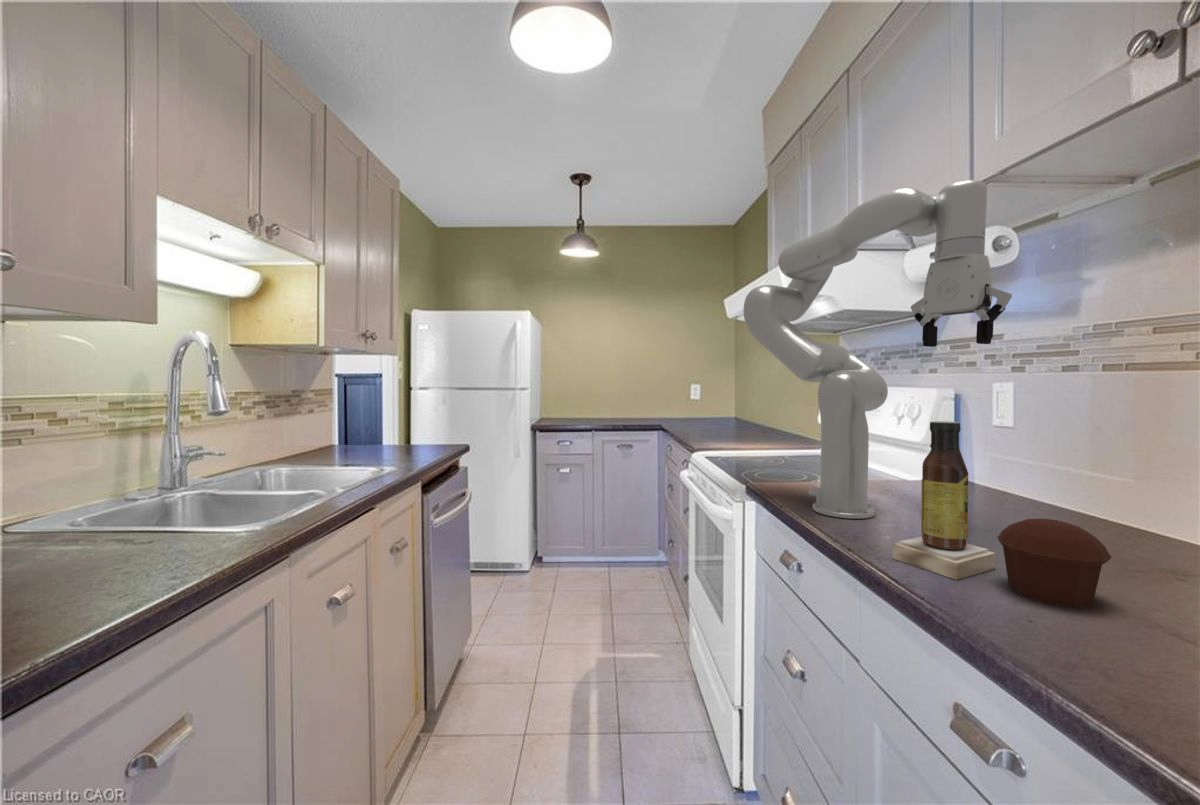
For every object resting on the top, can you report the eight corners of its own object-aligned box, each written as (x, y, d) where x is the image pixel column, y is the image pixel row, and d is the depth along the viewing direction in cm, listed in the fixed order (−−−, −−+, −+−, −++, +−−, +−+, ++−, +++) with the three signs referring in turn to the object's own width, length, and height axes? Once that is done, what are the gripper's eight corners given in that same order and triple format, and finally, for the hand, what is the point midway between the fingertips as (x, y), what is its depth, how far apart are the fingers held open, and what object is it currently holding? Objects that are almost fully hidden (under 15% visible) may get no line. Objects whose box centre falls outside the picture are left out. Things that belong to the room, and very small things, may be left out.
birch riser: (892, 558, 84) (893, 540, 84) (929, 549, 89) (930, 532, 88) (956, 579, 75) (957, 559, 75) (995, 568, 80) (995, 550, 79)
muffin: (1110, 594, 70) (1113, 522, 70) (1108, 621, 62) (1112, 540, 62) (1001, 571, 79) (1004, 507, 78) (988, 592, 71) (991, 521, 71)
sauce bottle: (975, 553, 78) (979, 424, 77) (929, 550, 79) (934, 423, 78) (955, 539, 84) (959, 420, 84) (913, 537, 86) (916, 419, 85)
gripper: (901, 260, 101) (898, 347, 102) (999, 239, 85) (994, 342, 86) (926, 263, 104) (923, 347, 105) (1025, 243, 88) (1020, 343, 89)
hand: (955, 345), depth 95 cm, fingers open, 9 cm apart
